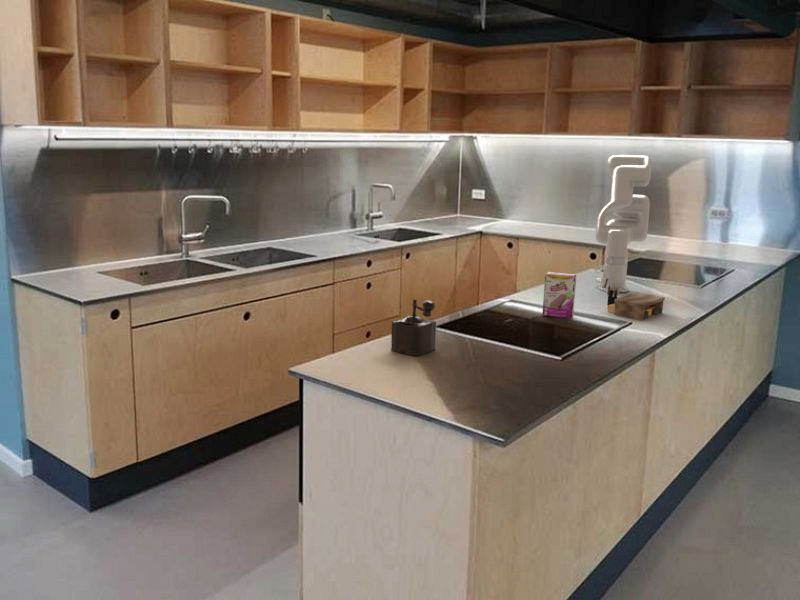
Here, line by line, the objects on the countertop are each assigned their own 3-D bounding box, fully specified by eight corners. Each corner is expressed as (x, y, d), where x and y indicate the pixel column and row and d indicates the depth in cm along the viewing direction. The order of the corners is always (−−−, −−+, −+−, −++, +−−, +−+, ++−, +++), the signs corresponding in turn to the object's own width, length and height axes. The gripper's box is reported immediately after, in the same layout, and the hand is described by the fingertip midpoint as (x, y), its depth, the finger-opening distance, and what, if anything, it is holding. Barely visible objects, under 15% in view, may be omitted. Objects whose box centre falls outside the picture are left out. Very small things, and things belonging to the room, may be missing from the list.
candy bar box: (542, 316, 272) (544, 273, 268) (543, 313, 277) (546, 271, 273) (572, 319, 268) (575, 276, 265) (573, 316, 273) (576, 273, 269)
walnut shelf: (613, 314, 276) (614, 299, 275) (635, 307, 288) (637, 292, 287) (641, 320, 268) (642, 304, 267) (663, 312, 280) (664, 297, 279)
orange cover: (607, 311, 281) (607, 305, 280) (622, 307, 289) (623, 300, 288) (641, 318, 271) (641, 311, 270) (655, 313, 279) (656, 306, 279)
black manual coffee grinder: (388, 351, 226) (389, 295, 222) (410, 343, 235) (411, 289, 230) (428, 361, 217) (429, 303, 213) (449, 352, 225) (451, 296, 221)
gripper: (617, 257, 289) (613, 301, 293) (597, 261, 279) (593, 307, 283) (634, 259, 284) (630, 304, 288) (614, 264, 274) (610, 310, 278)
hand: (611, 305), depth 286 cm, fingers closed
